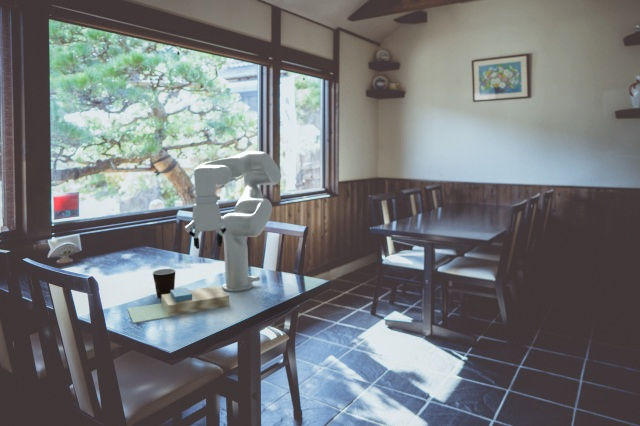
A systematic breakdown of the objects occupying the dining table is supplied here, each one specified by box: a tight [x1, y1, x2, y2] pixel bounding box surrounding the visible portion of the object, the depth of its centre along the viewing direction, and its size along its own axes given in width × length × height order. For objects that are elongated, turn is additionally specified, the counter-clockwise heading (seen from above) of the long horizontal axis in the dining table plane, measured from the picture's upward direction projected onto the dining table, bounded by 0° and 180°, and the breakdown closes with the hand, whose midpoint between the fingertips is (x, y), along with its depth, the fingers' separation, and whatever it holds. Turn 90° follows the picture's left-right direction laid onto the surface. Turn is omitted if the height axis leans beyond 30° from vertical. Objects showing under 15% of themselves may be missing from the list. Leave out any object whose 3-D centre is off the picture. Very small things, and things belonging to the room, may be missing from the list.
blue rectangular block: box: [170, 287, 192, 302], centre depth 180 cm, size 6×9×2 cm, turn 27°
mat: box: [127, 302, 171, 324], centre depth 175 cm, size 12×16×1 cm
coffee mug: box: [152, 268, 176, 299], centre depth 195 cm, size 12×9×10 cm
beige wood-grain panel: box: [160, 285, 230, 317], centre depth 182 cm, size 22×14×4 cm, turn 118°
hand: (208, 246), depth 182 cm, fingers open, 7 cm apart
